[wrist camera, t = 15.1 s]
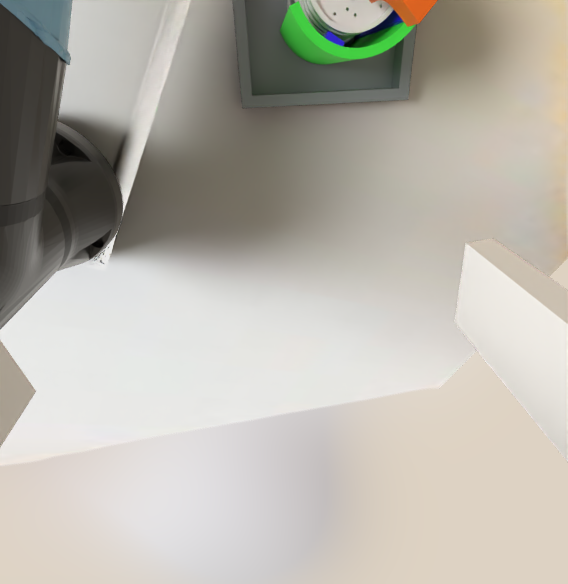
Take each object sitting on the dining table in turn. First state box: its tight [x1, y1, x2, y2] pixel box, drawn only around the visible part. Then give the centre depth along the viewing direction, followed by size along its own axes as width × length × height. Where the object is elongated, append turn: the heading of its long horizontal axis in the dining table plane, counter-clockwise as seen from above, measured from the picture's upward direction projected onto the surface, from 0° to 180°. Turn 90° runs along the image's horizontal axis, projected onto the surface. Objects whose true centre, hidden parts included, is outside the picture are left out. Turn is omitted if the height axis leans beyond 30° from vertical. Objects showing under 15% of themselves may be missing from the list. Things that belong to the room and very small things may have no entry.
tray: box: [233, 0, 417, 108], centre depth 33 cm, size 16×16×3 cm
